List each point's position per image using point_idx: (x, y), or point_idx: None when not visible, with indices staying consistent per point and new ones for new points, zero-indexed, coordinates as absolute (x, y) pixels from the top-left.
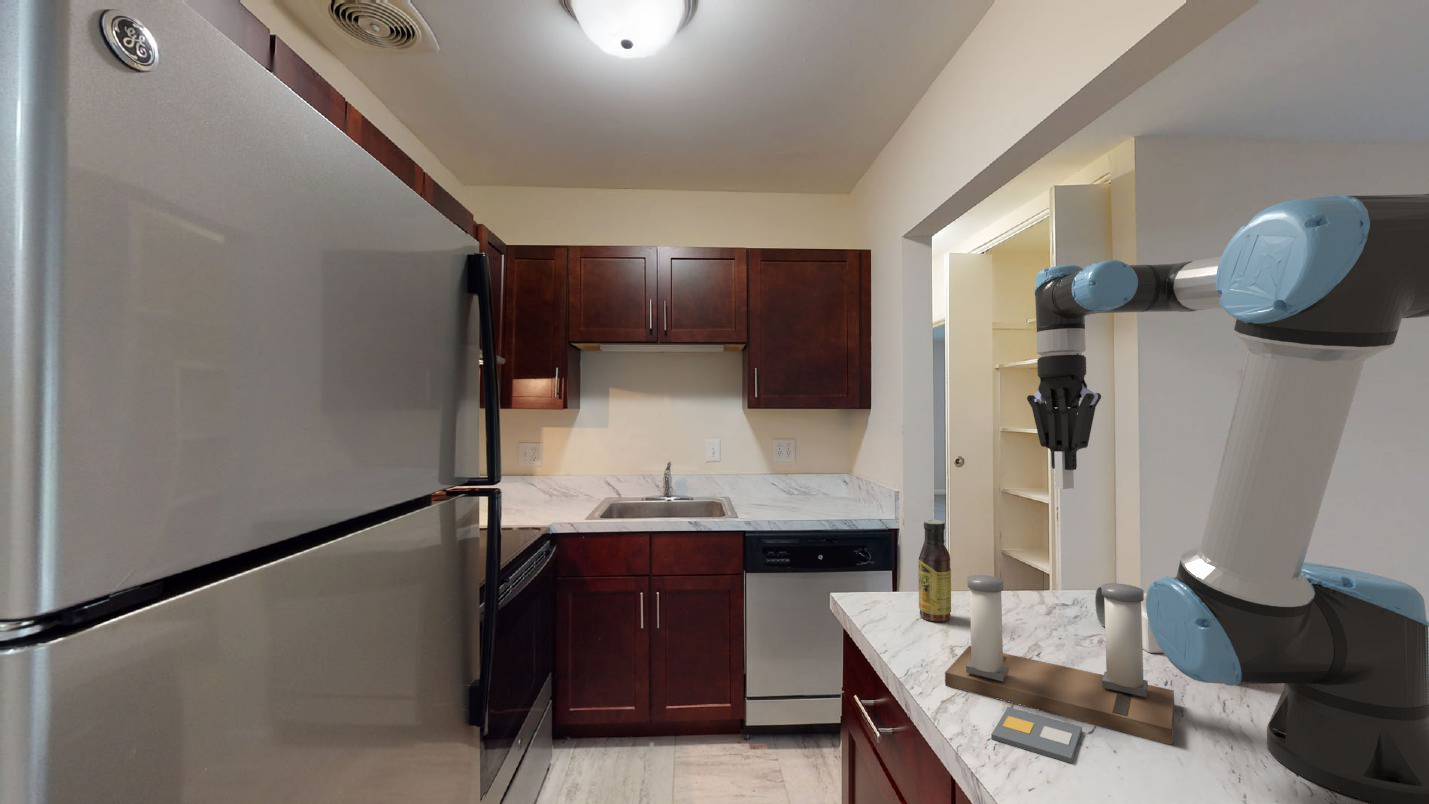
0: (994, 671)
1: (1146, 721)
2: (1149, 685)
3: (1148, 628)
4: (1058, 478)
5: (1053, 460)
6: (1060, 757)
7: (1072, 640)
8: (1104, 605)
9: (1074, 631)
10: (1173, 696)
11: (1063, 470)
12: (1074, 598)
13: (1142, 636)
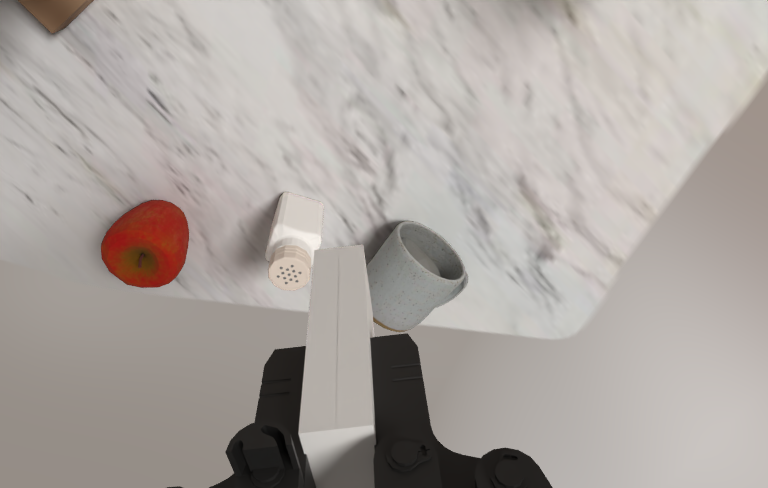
0: None
1: None
2: (75, 5)
3: (278, 214)
4: (342, 283)
5: (406, 379)
6: None
7: (382, 108)
8: (450, 272)
9: (421, 153)
10: (23, 5)
11: (309, 329)
12: (559, 296)
13: (296, 205)
